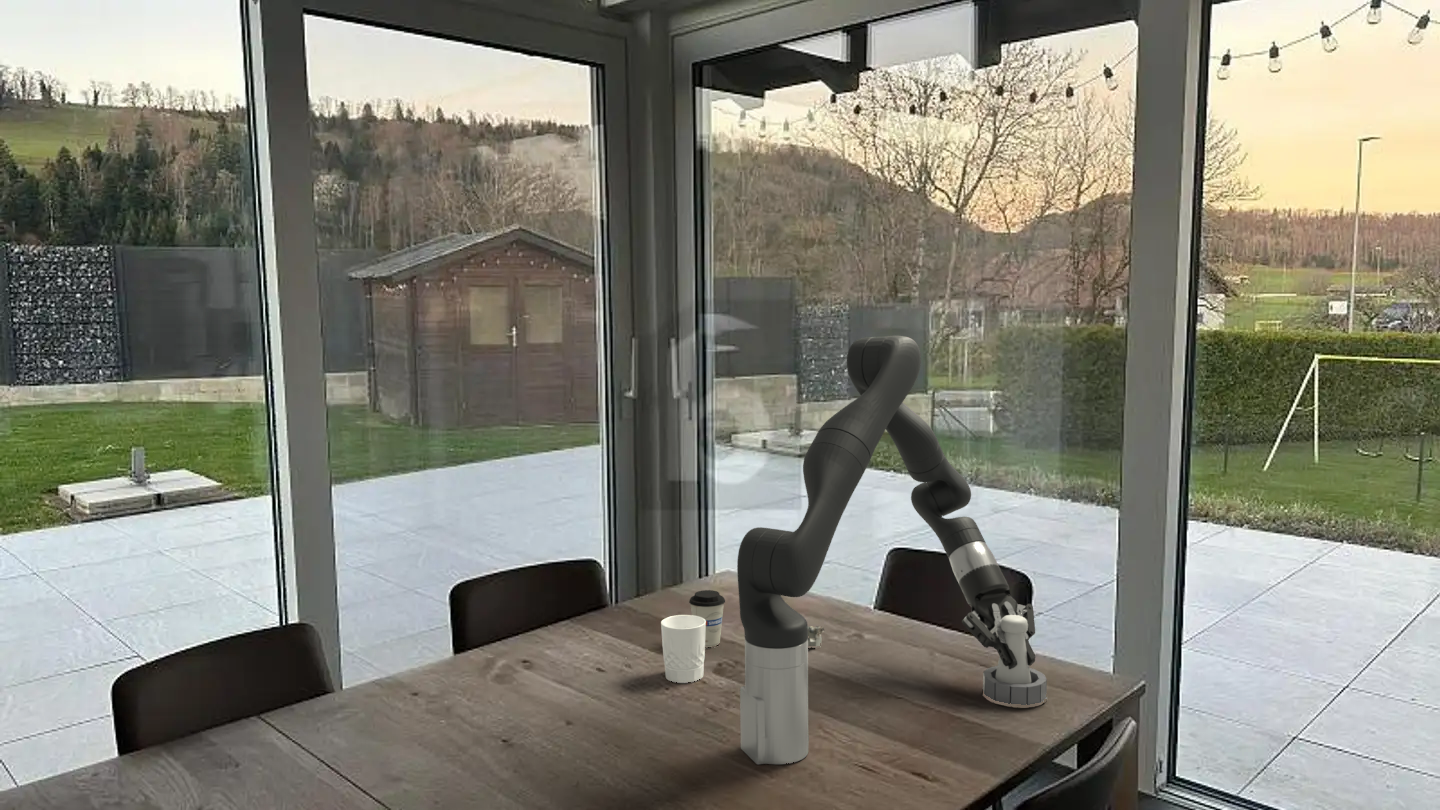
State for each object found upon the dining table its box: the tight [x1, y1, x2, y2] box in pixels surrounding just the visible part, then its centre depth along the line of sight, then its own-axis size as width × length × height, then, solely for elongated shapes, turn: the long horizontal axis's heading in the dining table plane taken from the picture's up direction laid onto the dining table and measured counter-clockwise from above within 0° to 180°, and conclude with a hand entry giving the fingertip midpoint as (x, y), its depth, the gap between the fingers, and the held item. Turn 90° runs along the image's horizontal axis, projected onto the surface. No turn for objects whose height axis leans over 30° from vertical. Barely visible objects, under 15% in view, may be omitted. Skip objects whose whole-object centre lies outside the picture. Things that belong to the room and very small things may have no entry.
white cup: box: [660, 614, 706, 684], centre depth 184 cm, size 8×8×10 cm
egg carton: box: [808, 625, 825, 647], centre depth 201 cm, size 11×8×4 cm
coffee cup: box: [688, 589, 726, 647], centre depth 201 cm, size 7×7×10 cm
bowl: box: [982, 665, 1048, 705], centre depth 173 cm, size 10×10×4 cm
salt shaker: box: [995, 614, 1031, 684], centre depth 173 cm, size 6×6×13 cm
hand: (1022, 665), depth 171 cm, fingers closed on salt shaker, 3 cm apart
